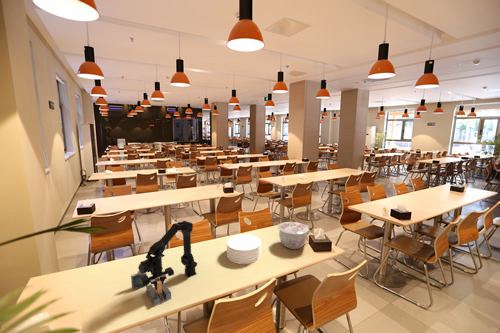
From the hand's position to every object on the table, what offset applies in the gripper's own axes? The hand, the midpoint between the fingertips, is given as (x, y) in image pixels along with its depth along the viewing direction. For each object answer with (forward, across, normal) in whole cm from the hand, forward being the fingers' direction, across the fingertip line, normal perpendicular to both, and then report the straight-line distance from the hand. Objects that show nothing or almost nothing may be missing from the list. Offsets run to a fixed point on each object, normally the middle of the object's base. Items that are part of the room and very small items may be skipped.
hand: (158, 288), depth 145 cm
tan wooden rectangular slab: (+2, 0, 0) cm, 2 cm away
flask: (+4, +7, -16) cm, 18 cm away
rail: (+4, 0, 0) cm, 4 cm away
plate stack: (+5, -71, -5) cm, 71 cm away
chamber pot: (+5, -115, +10) cm, 116 cm away
